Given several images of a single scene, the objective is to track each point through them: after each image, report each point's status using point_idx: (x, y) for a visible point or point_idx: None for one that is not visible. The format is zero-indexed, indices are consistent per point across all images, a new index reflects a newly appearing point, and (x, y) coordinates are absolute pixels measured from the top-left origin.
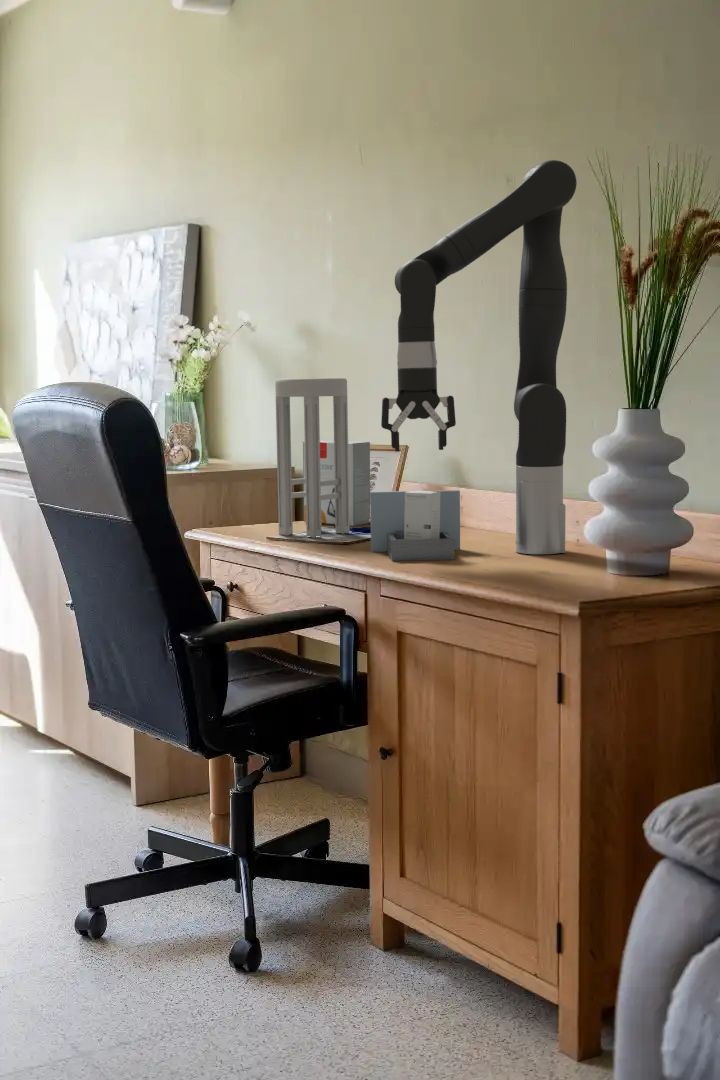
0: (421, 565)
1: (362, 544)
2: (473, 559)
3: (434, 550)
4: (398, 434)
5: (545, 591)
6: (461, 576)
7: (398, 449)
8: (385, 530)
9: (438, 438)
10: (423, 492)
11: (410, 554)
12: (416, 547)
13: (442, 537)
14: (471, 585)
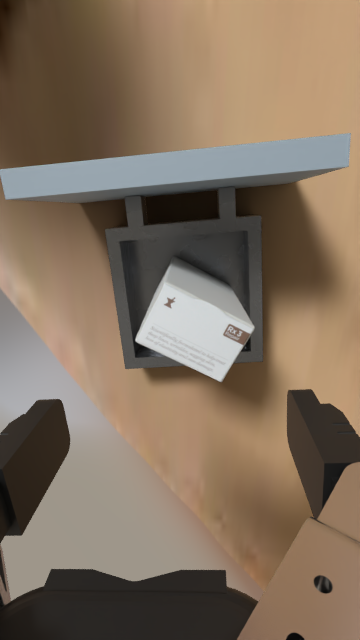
0: (189, 405)
1: (37, 37)
2: (294, 341)
3: None
4: (25, 521)
5: None
6: (247, 513)
7: (63, 453)
8: (97, 198)
9: (305, 428)
10: (196, 360)
11: None
12: None
13: (246, 234)
14: (252, 576)
